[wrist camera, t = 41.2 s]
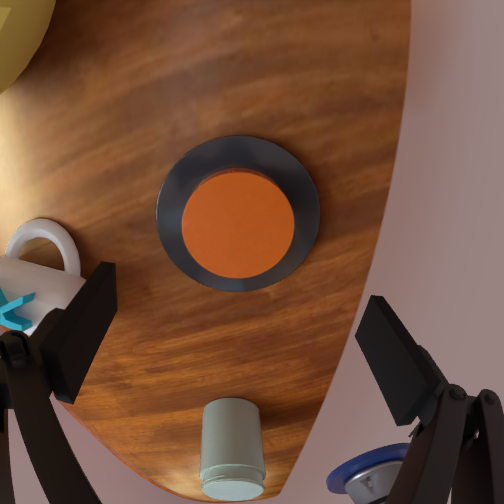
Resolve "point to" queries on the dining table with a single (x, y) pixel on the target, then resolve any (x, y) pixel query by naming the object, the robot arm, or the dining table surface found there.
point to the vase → (21, 35)
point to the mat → (238, 156)
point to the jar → (232, 450)
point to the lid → (237, 223)
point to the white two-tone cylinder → (36, 277)
